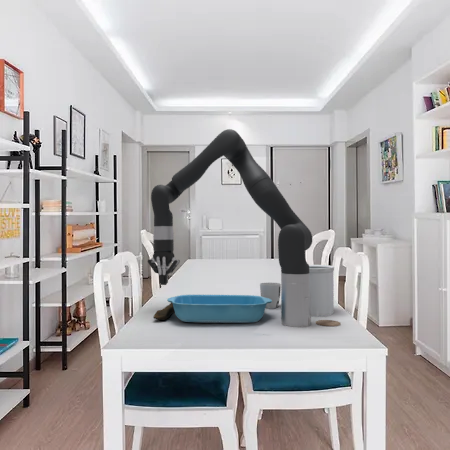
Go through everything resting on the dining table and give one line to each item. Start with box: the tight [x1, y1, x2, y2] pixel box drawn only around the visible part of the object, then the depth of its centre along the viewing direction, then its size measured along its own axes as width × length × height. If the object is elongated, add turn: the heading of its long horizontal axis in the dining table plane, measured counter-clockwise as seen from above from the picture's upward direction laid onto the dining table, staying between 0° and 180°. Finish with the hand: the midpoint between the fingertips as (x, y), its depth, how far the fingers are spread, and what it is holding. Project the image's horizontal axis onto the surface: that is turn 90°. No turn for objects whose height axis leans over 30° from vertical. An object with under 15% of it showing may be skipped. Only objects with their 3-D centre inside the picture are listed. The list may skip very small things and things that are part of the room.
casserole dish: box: [166, 294, 272, 324], centre depth 149 cm, size 37×22×7 cm, turn 91°
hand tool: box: [152, 302, 175, 321], centre depth 153 cm, size 19×4×5 cm
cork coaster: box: [315, 319, 341, 327], centre depth 139 cm, size 8×8×1 cm
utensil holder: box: [308, 264, 335, 317], centre depth 156 cm, size 15×15×18 cm
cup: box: [259, 282, 281, 309], centre depth 164 cm, size 8×8×10 cm
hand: (163, 284), depth 158 cm, fingers closed
